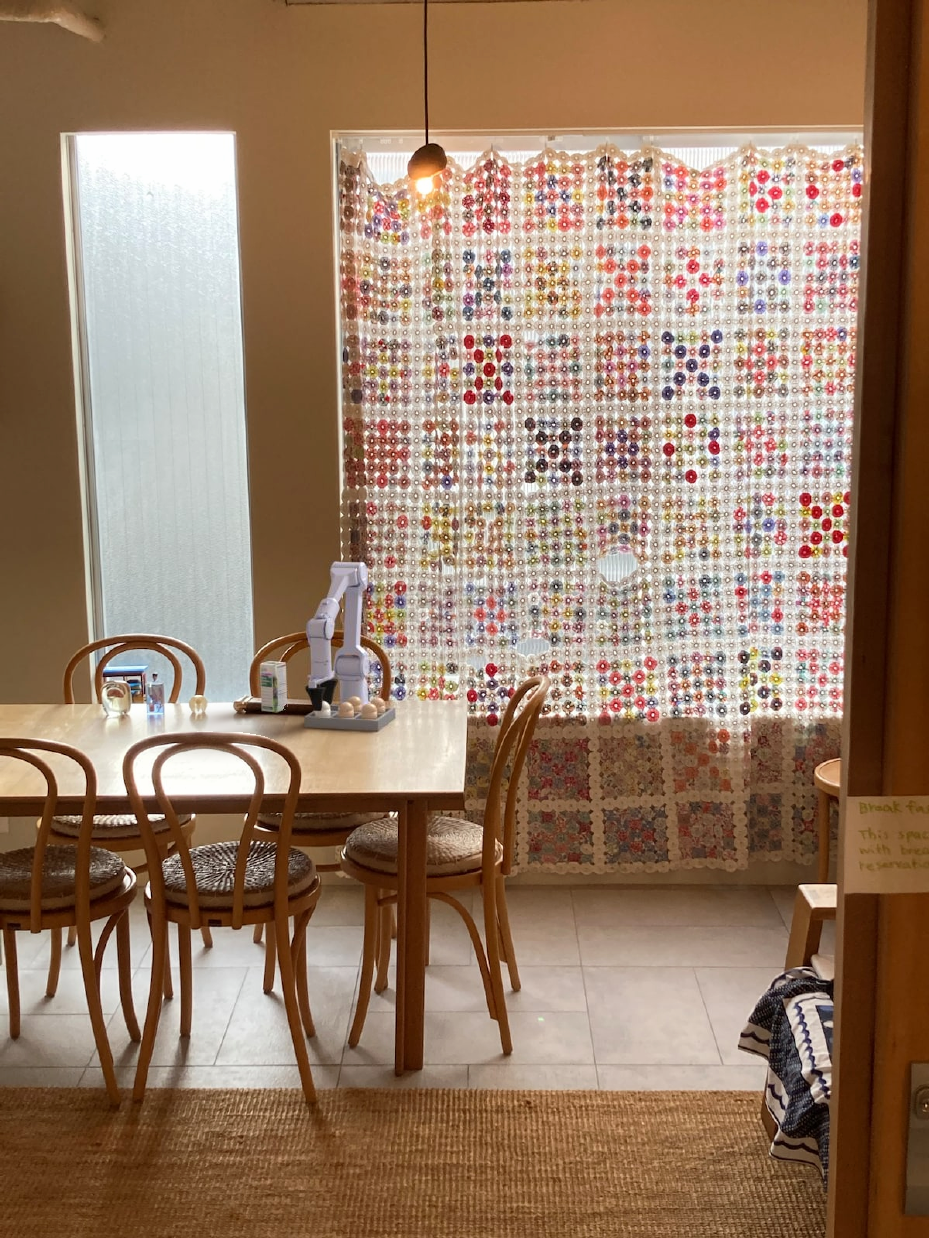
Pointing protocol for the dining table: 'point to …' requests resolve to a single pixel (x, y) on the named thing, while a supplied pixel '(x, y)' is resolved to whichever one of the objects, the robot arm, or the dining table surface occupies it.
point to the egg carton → (354, 716)
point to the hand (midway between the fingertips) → (322, 707)
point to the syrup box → (273, 686)
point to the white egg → (324, 710)
